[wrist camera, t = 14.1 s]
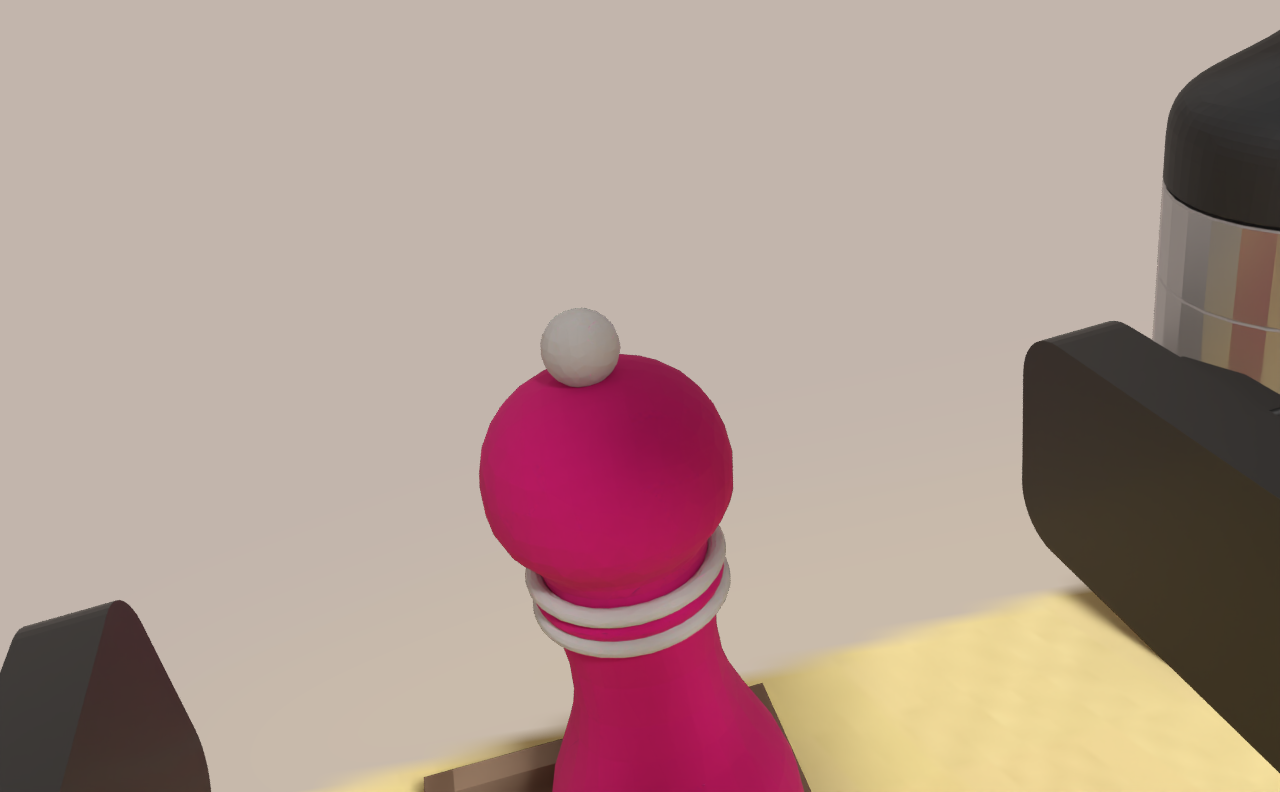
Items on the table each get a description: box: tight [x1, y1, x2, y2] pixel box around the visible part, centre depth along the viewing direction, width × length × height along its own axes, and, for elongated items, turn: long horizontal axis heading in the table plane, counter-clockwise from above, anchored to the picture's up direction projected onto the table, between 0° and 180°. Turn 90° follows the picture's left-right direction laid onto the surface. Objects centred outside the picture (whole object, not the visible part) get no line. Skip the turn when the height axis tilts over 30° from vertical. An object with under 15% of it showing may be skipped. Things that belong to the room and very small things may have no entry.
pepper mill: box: [479, 308, 804, 792], centre depth 29 cm, size 7×7×20 cm
